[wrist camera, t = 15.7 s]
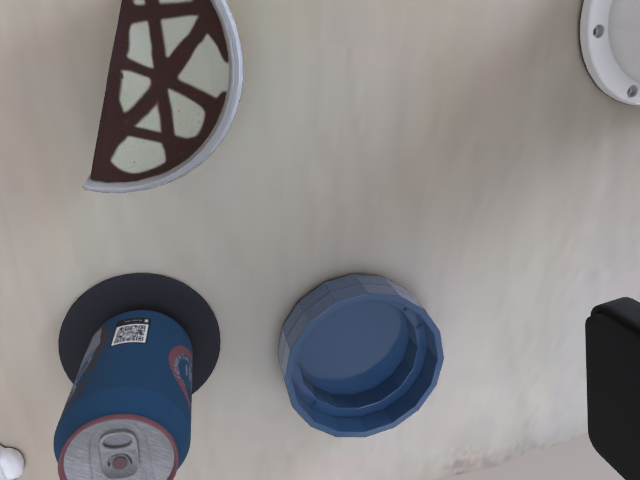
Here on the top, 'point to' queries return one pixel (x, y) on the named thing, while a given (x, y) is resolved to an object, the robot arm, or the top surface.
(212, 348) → the coaster
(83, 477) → the soda can
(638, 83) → the robot arm
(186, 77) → the food container
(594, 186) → the top surface
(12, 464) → the astronaut figurine
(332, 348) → the bowl
